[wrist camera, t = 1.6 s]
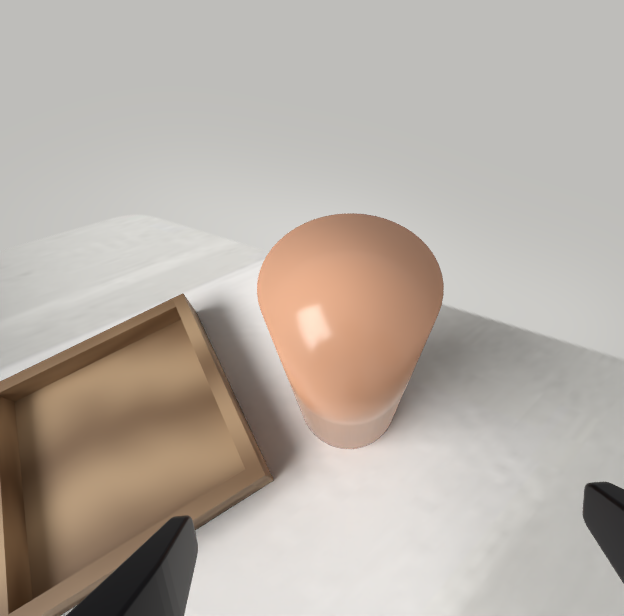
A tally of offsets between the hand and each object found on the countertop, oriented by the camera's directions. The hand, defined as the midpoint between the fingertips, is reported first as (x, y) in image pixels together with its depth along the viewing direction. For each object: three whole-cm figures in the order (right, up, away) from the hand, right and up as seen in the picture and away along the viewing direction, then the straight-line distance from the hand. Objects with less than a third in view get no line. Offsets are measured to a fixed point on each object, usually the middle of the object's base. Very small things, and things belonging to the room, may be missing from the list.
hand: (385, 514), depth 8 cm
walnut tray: (-13, -4, +14) cm, 20 cm away
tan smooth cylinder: (+1, -1, +14) cm, 14 cm away
